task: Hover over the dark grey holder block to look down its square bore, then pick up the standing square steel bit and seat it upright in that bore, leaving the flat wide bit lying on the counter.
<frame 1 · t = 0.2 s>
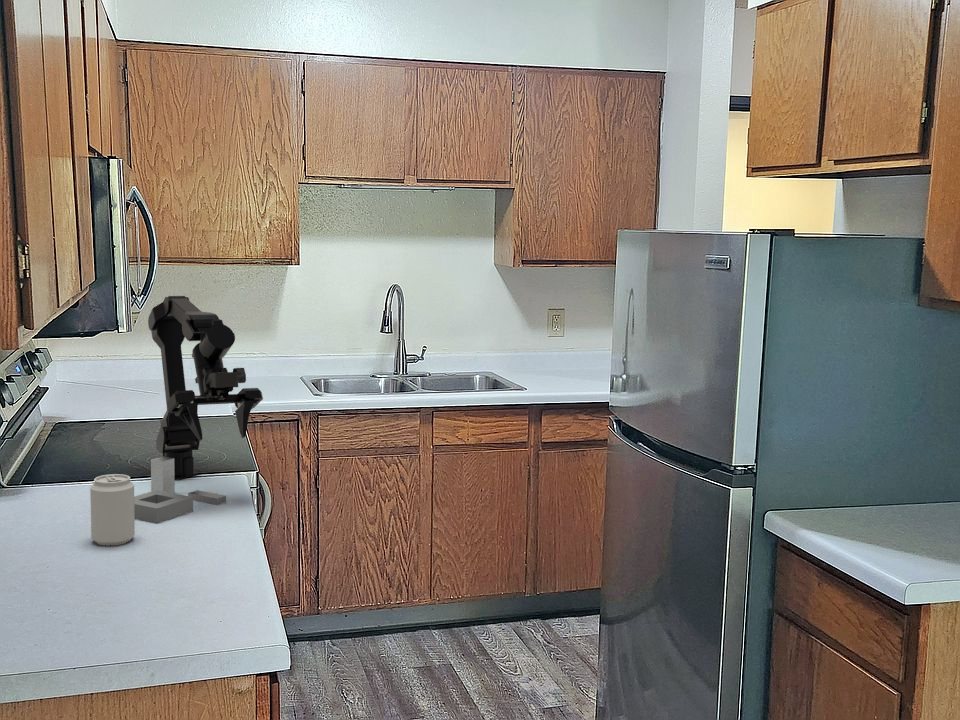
hand: (222, 438, 198), 15 cm above the counter, tool tilted 30°, fingers open, 9 cm apart
bore block: (156, 513, 195), on the counter
can: (113, 541, 177), on the counter
flat bit: (207, 502, 205), on the counter
square bit: (162, 494, 209), on the counter
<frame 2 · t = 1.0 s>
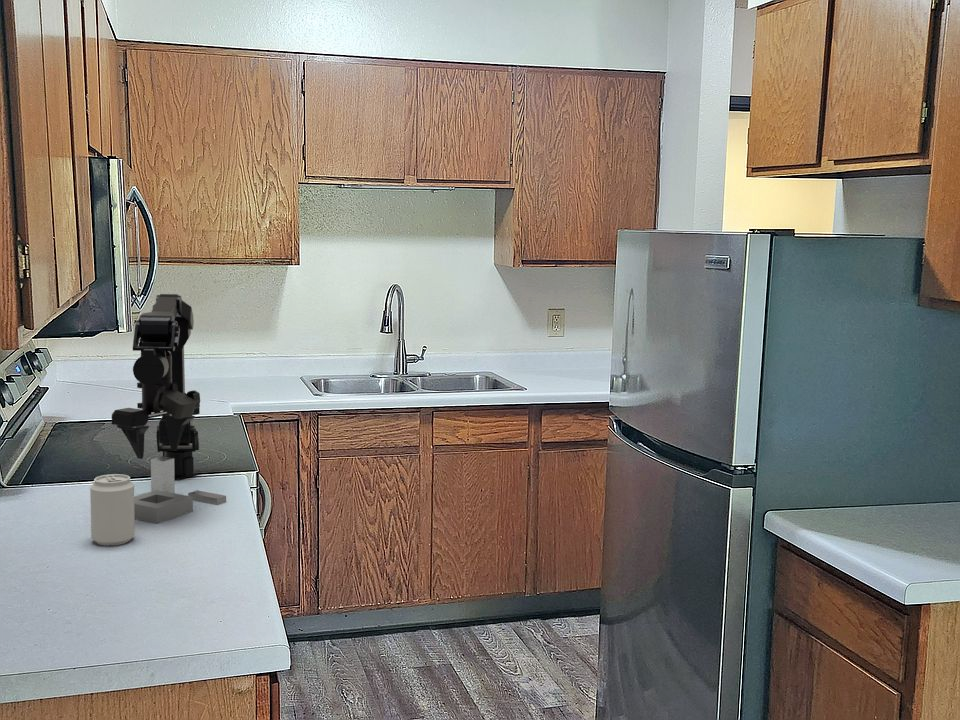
hand: (157, 454, 194), 12 cm above the counter, tool pointing down, fingers open, 9 cm apart
nothing on the counter moved.
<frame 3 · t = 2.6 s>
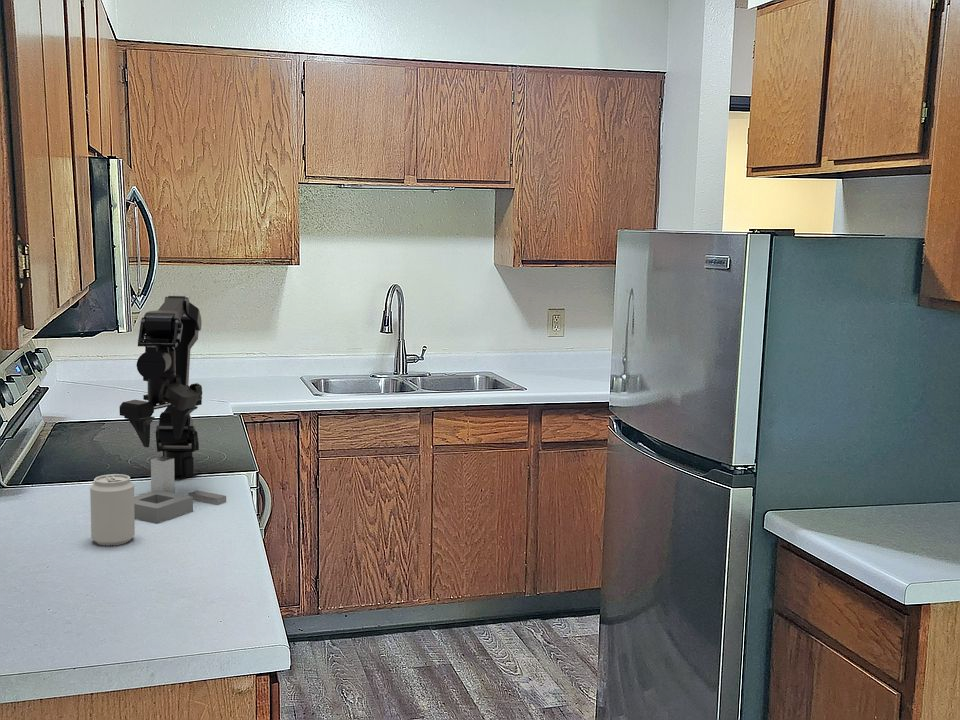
hand: (162, 442, 207), 12 cm above the counter, tool pointing down, fingers open, 9 cm apart
nothing on the counter moved.
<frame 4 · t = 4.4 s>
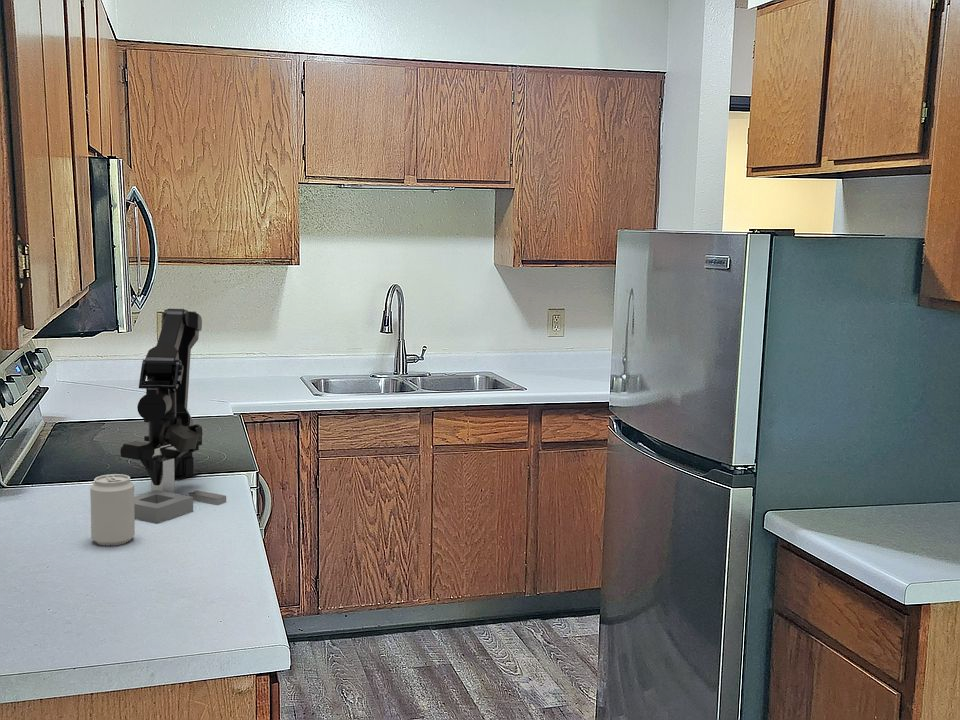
hand: (162, 483, 209), 3 cm above the counter, tool pointing down, fingers closed on square bit, 3 cm apart
square bit: (162, 494, 209), on the counter, touching gripper
everything else where it was.
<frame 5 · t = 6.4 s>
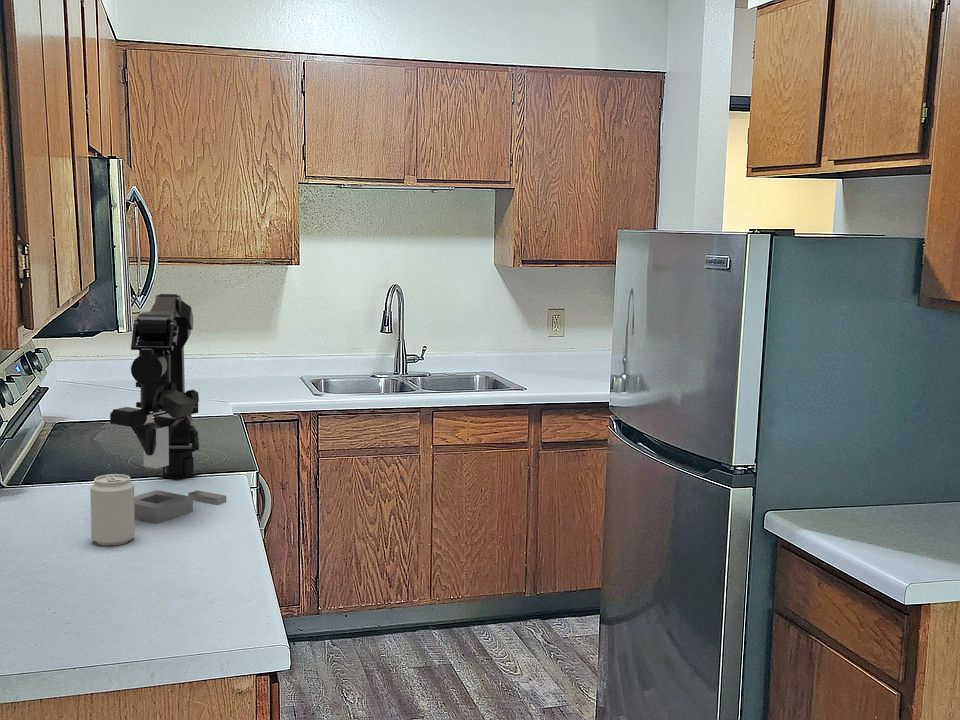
hand: (156, 453, 194), 12 cm above the counter, tool pointing down, fingers closed on square bit, 3 cm apart
square bit: (156, 465, 194), point 10 cm above the counter, touching gripper
everything else where it was.
when the fingers open (4 cm above the counter, at t = 8.5 s): square bit drops 2 cm, resting in bore block.
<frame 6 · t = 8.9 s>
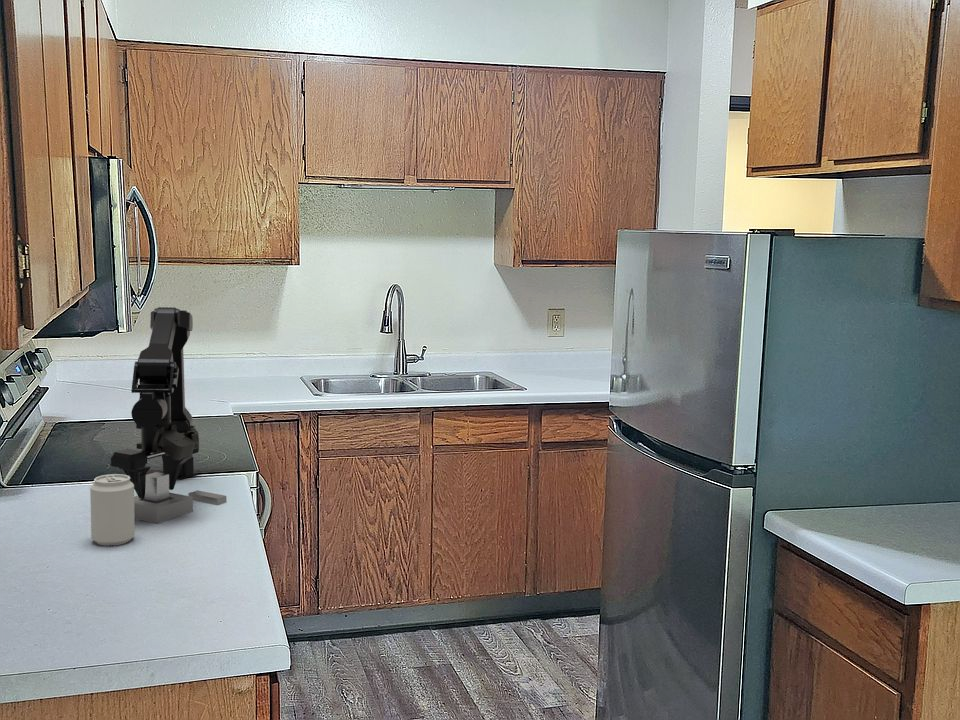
hand: (156, 494, 195), 4 cm above the counter, tool pointing down, fingers open, 8 cm apart
square bit: (156, 513, 195), resting in bore block
everything else where it was.
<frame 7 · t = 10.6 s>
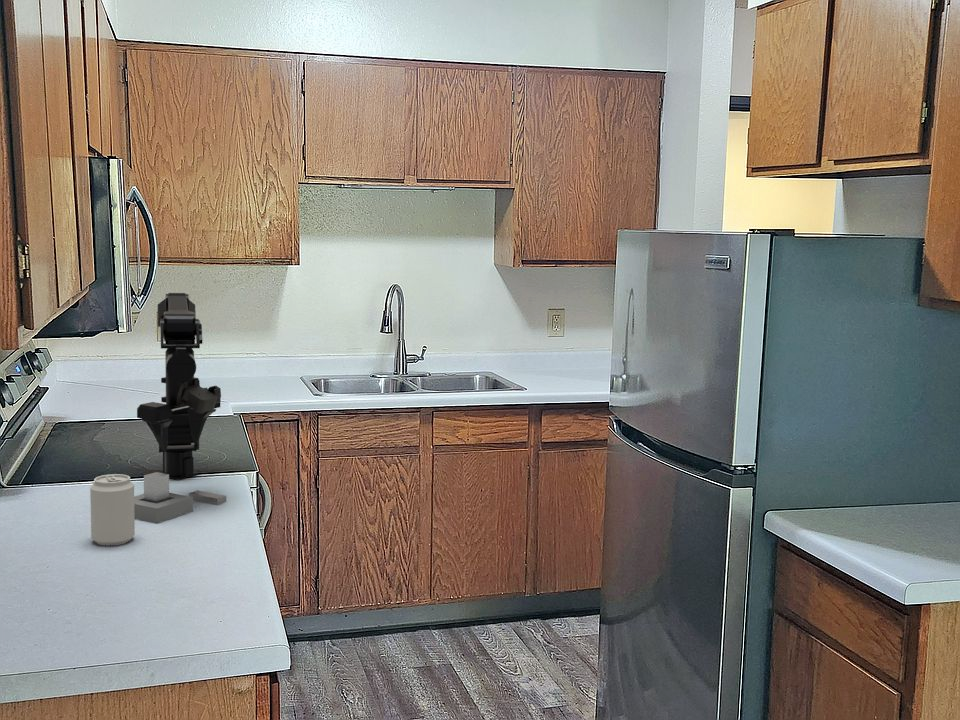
hand: (180, 446, 203), 12 cm above the counter, tool pointing down, fingers open, 9 cm apart
nothing on the counter moved.
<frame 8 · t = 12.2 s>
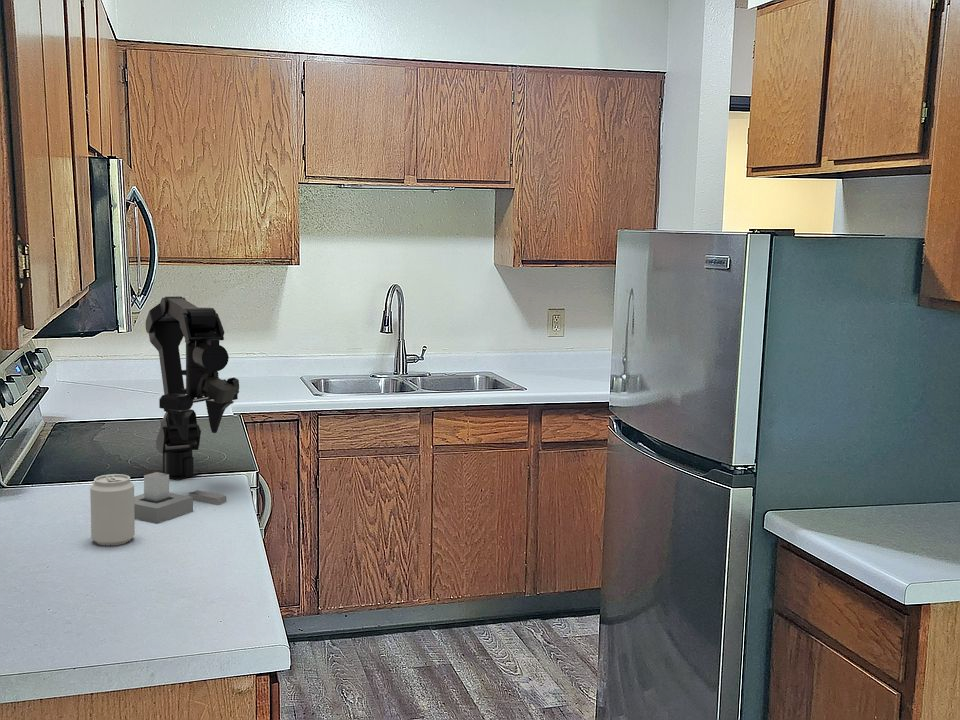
hand: (199, 436, 210), 13 cm above the counter, tool pointing down, fingers open, 9 cm apart
nothing on the counter moved.
at the end: square bit 0.0 cm off-centre on the bore block, point 0.0 cm above the bore block's base; square bit tilted 0°; the gripper is holding nothing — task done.
